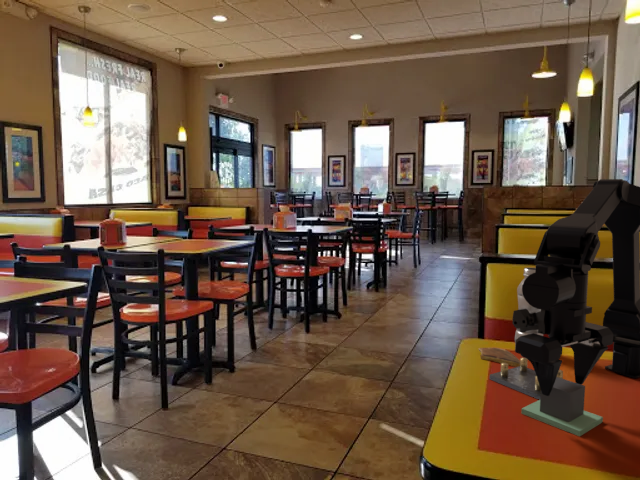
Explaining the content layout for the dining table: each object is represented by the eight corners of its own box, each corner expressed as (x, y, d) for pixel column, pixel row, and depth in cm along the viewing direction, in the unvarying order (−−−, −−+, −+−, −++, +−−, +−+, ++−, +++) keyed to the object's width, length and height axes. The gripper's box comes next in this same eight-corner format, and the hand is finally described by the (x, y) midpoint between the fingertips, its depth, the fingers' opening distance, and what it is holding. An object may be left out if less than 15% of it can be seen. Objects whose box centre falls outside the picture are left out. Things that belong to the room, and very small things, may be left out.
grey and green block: (545, 403, 91) (546, 370, 90) (602, 423, 83) (604, 388, 82) (521, 415, 86) (522, 380, 85) (579, 438, 78) (581, 400, 77)
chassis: (521, 370, 106) (522, 354, 106) (573, 389, 96) (574, 372, 96) (489, 379, 101) (490, 362, 101) (541, 400, 91) (542, 382, 91)
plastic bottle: (509, 349, 120) (512, 268, 118) (522, 343, 124) (525, 265, 122) (535, 356, 115) (539, 272, 113) (547, 350, 120) (551, 268, 118)
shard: (525, 371, 107) (525, 363, 107) (490, 371, 107) (491, 363, 107) (505, 354, 118) (506, 347, 118) (474, 354, 118) (474, 347, 118)
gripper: (557, 285, 94) (553, 364, 95) (490, 296, 84) (487, 384, 86) (617, 296, 84) (612, 384, 86) (548, 310, 75) (544, 408, 77)
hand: (562, 389), depth 84 cm, fingers open, 9 cm apart
